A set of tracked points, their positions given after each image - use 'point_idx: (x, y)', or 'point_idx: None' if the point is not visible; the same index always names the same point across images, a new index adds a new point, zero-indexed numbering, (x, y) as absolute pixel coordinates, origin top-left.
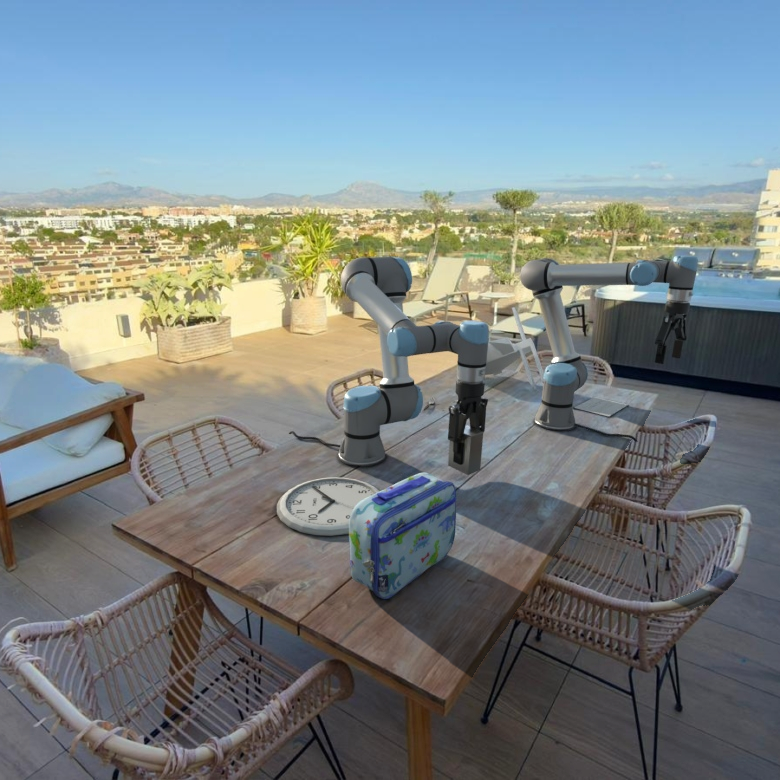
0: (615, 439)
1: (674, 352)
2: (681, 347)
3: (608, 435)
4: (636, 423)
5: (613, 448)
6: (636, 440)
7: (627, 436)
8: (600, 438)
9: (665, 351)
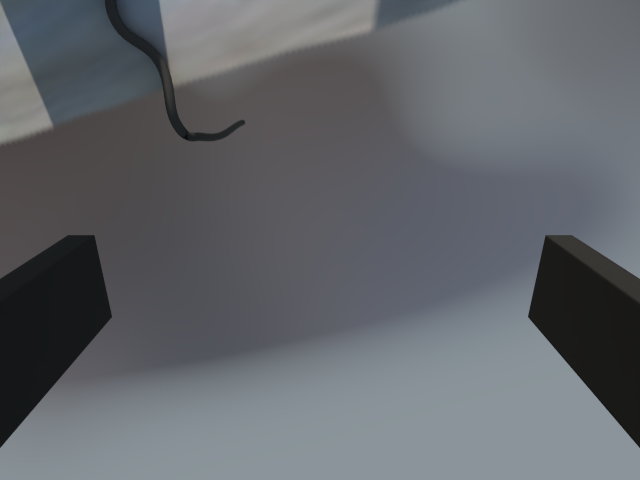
0: (123, 65)
1: (579, 288)
2: (622, 421)
3: (115, 28)
4: (383, 23)
5: (38, 110)
6: (178, 132)
7: (164, 96)
8: (73, 15)
9: (6, 432)
